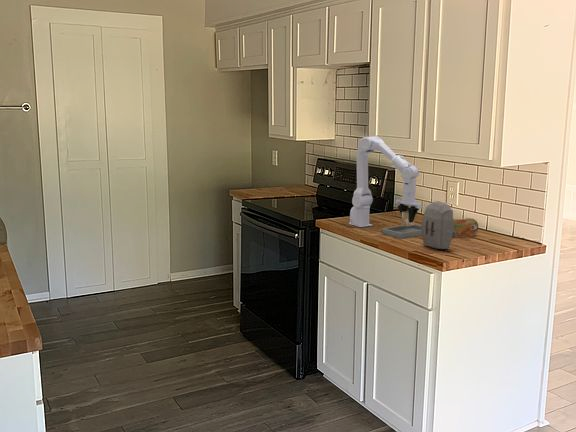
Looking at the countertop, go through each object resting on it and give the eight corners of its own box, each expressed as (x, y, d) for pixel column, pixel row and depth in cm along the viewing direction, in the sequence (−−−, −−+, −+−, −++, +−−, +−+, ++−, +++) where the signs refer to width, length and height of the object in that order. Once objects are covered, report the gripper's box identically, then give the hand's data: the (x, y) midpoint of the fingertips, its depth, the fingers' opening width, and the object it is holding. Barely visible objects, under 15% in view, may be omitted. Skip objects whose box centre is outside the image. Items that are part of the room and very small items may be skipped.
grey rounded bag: (455, 250, 235) (458, 203, 231) (440, 253, 231) (443, 204, 227) (429, 242, 248) (432, 197, 244) (414, 245, 244) (417, 199, 240)
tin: (449, 238, 258) (450, 219, 256) (445, 236, 261) (446, 218, 259) (478, 236, 262) (479, 218, 260) (474, 234, 265) (475, 217, 263)
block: (401, 224, 265) (401, 212, 264) (407, 223, 267) (408, 211, 266) (407, 226, 261) (408, 213, 260) (413, 225, 264) (414, 212, 262)
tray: (382, 233, 264) (382, 228, 264) (412, 228, 275) (412, 223, 275) (400, 238, 255) (400, 233, 254) (431, 233, 266) (431, 228, 265)
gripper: (427, 193, 257) (425, 223, 260) (403, 189, 269) (402, 217, 272) (416, 195, 254) (414, 224, 256) (393, 190, 265) (391, 219, 268)
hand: (407, 221), depth 264 cm, fingers closed on block, 4 cm apart
